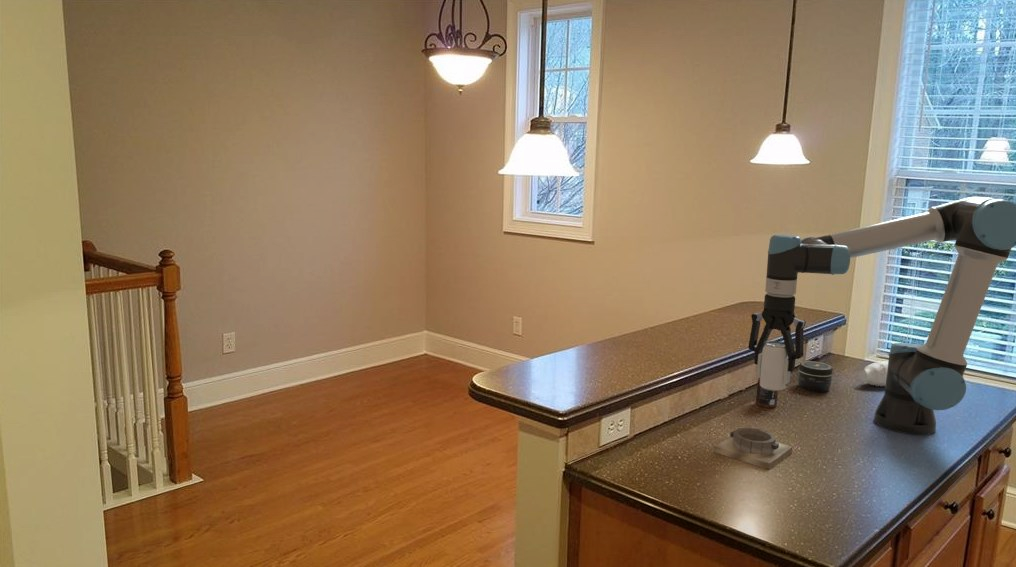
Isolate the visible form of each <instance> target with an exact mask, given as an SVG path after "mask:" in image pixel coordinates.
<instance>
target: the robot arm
mask: <svg viewBox="0 0 1016 567" xmlns="http://www.w3.org/2000/svg"><path fill="white" fill-rule="evenodd" d="M931 241H935V242H937V243H946V242H949V241H955V242H954V246H953V247H954V248H955V251H957V254H958V255H957V258H956V260H955V263H954V266H953V268H952V271H951V273H950V277H949V279H948V281H947V284H946V288H945V290H944V292H943V296H942V298H941V301H940V303H939V304H940V305H939V306H938V310H937V312H936V315H935V318H934V321H933V323H932V325H931V329H930V331H929V334H928V336H927V340H926V342H925V343H924V344H921V343H909V342H896V343H892V344H891V346H890V349H889V353H888V360H887V361H888V369H887V377H886V385H885V386H884V394H883V396H882V398H881V400H880V402H879V404H878V405H877V407H876V409H875V411H874V418H873V421H874V422H875V423H876V424H878V425H879V426H880V427H883V428H886V429H888V430H891V431H895V432H898V433H899V432H900V433H903V434H908V435H921V436H924V435H931V434H933V433H935V432H936V429H937V428H936V427H937V420H936V416H935V411H945V410H949V409H951V408H953V407H956V406H957V405H959V403H961V401H963V399H964V397H965V396H966V393H967V382H966V380H965V378H964V374H965V371H966V369H967V366H968V362H967V360H966V358H965V357H964V354H965V351H966V349H967V345H968V343H969V340H970V337H971V335H972V333H973V330H974V327H975V325H976V322H977V319H978V317H979V315H980V312H981V309H982V306H983V303H984V300H985V299H986V296H987V294H988V291H989V288H990V285H991V283H992V279H993V278H994V275H995V273H996V269H997V267H998V264H1000V263H1003V262H1004V261H1007V260H1008V259H1009V256H1010V254H1011V251H1012V248H1014V247H1016V202H1013V201H1010V200H1007V199H1005V198H998V197H987V196H979V195H978V196H977V195H976V196H975V195H974V196H969V197H965V198H961V199H958V200H954V201H950V202H947V203H946V202H945V203H943V204H940V205H936V206H931V207H929V209H928V210H927V211H926V212H923V213H918V214H914V215H909V216H905V217H900V218H896V219H892V220H888V221H883V222H879V223H876V224H870V225H866V226H862V227H858V228H853V229H848V230H844V231H839V232H835V233H832V234H828V235H822V236H817V237H813V236H810V237H804V238H802V239H801V237H800V236H798V235H793V234H774V235H772V236H771V237H770V239H769V243H768V244H769V245H768V250H767V266H766V276H765V277H766V278H765V289H764V292H765V293H766V294H764V303H763V311H762V312H755V313H752V314H751V329H750V335H749V340H748V347H747V348H748V349H749V351H753V352H754V365H755V366H757V368H756V379H758V378H760V374H761V362H762V351H763V347H764V345H765V342H768V339H769V337H770V335H771V333H772V331H773V330H777V331H780V334H781V336H782V340H783V343H785V347H786V351H787V355H788V358H787V359H785V366H784V378H783V384H786V385H787V384H789V383H790V381H791V373H792V372H794V371H795V367H796V360H800V359H802V358H803V357H804V348H805V347H804V346H805V345H804V328H805V326H806V322H807V321H806V320H805V319H802V320H801V319H798V318H796V315H795V307H796V306H795V304H796V297H795V295H796V294H797V286H798V285H797V283H798V282H797V281H798V274H799V273H800V274H822V275H823V274H824V275H832V276H833V275H845V274H846V273H848V270H849V268H850V264H851V259H853V258H858V257H861V256H862V257H863V256H866V255H867V256H868V255H870V254H877V253H880V252H884V251H889V250H894V249H899V248H904V247H907V246H911V245H912V246H913V245H917V244H922V243H926V242H931ZM762 320H763V321H764V322H765V325H764V328H763V331H762V333H761V335H760V338H758V337H759V333H760V327H761V321H762ZM793 323H794V325H793V326H794V328H795V330H794V331H795V332H794V335H795V339H794V341H795V345H794V342H793V336H792V330H791V325H792V324H793ZM758 339H759V340H758Z"/></svg>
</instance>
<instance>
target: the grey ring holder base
mask: <svg viewBox="0 0 1016 567" xmlns="http://www.w3.org/2000/svg"><path fill="white" fill-rule="evenodd" d="M729 434H730V435H729V437H727V438H725V439H723V440H722V441H720V442H719V443H717V444H716V445H714V446H713V453H716V454H718V455H719V454H720V455H723V456H726V457H729V458H732V459H736V460H738V461H740V462H744V463H748V464H751V465H754V466H757V467H761V468H763V469H767V470H770V469H772V468H773V467H774V466H776V465H778V463H780V462H781V461H783V460H784V459H785V458H787V457H788V456H789V455H791V454H792V453H793V446H790V445H788V444H784V443H780V442H777V441H776V435H775V434H773V433H771V432H769V431H767V430H763V429H760V428H755V427H740V428H737V429H735V430H733V431H730V433H729Z"/></svg>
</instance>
